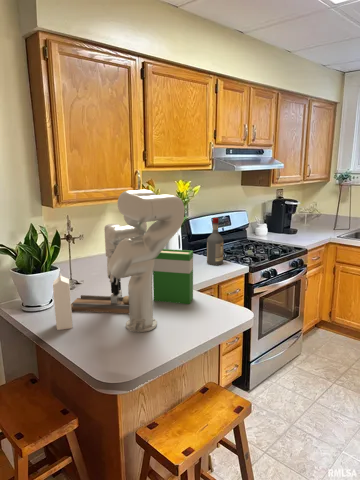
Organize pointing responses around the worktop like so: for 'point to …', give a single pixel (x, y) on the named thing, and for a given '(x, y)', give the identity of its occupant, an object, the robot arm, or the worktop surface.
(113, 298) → the press jaw
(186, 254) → the hardback book
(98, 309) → the press base
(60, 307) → the milk
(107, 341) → the worktop surface
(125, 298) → the walnut
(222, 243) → the liquor
